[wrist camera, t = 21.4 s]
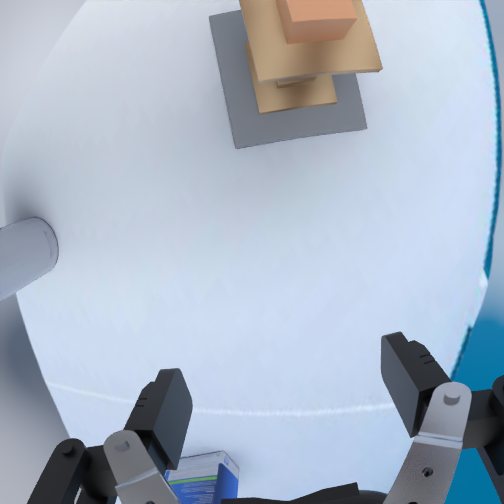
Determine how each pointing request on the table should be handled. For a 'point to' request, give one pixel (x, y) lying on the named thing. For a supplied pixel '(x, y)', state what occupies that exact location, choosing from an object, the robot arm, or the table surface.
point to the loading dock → (284, 122)
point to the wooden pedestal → (302, 59)
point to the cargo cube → (315, 19)
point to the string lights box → (204, 479)
